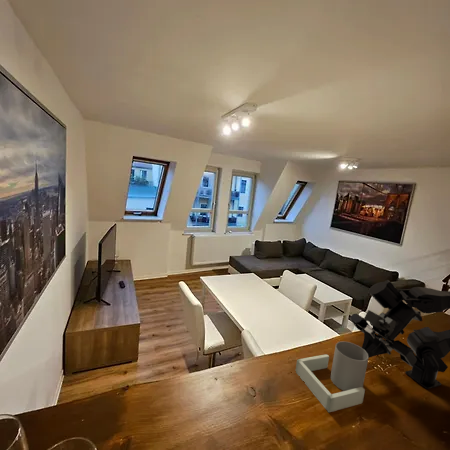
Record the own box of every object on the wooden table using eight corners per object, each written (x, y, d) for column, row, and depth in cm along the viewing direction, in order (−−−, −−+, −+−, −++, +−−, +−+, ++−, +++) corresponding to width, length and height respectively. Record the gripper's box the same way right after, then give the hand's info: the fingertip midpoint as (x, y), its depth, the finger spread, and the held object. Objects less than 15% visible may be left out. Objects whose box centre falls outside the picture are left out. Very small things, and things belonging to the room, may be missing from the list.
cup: (343, 395, 67) (349, 362, 65) (324, 372, 75) (329, 342, 73) (369, 391, 69) (375, 359, 68) (348, 370, 77) (353, 340, 75)
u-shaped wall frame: (324, 365, 78) (326, 354, 77) (362, 403, 65) (364, 389, 64) (295, 371, 74) (297, 359, 74) (328, 412, 61) (331, 398, 61)
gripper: (358, 289, 80) (325, 324, 79) (418, 320, 63) (378, 365, 61) (372, 310, 84) (341, 343, 82) (432, 345, 67) (394, 388, 65)
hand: (360, 357), depth 73 cm, fingers closed
